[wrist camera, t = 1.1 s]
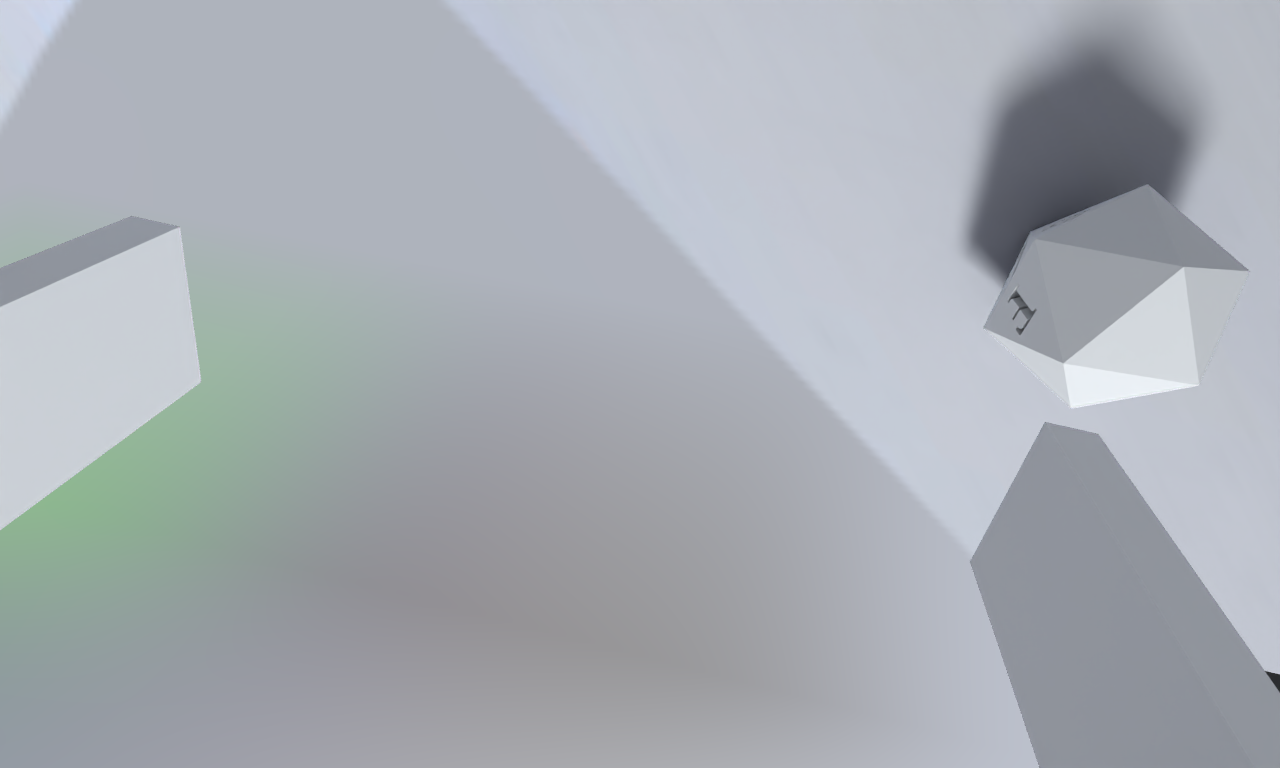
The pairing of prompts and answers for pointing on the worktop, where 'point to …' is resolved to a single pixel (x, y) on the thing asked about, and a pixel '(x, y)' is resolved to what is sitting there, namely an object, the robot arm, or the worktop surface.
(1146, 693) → the robot arm
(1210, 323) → the die
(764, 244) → the worktop surface
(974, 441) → the worktop surface
